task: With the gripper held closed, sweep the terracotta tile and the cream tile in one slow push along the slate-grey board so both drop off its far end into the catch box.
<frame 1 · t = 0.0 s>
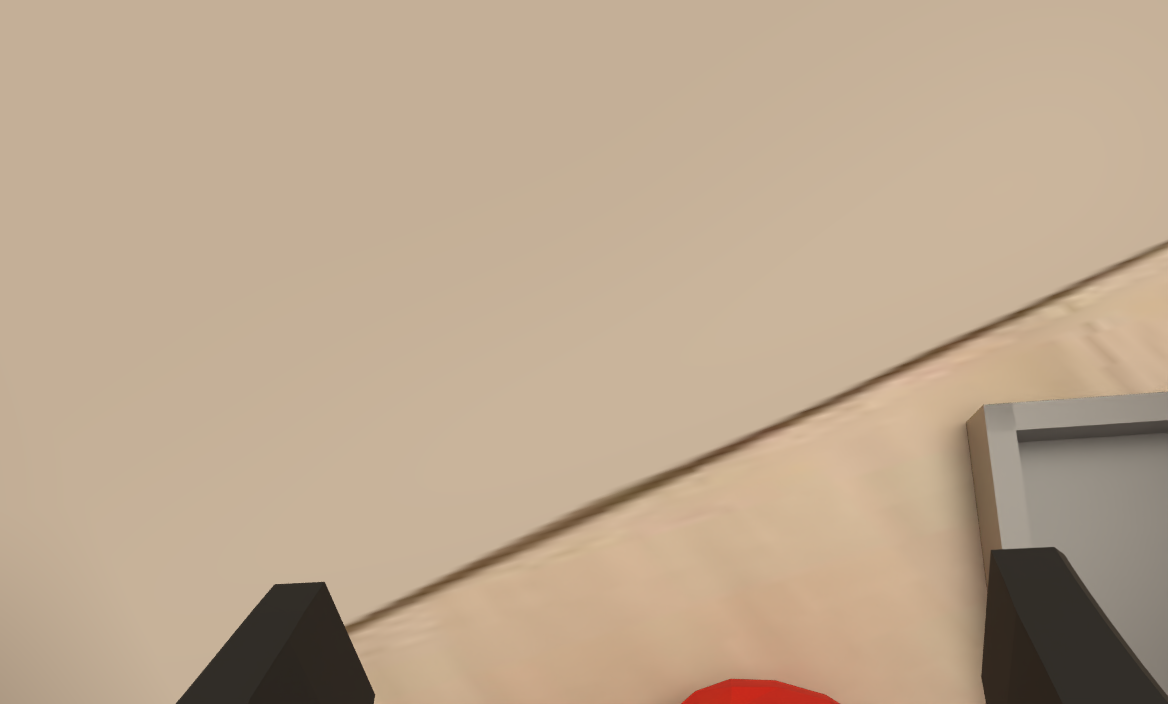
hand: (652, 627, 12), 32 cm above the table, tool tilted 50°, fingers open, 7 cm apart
catch box: (1128, 596, 40), on the table
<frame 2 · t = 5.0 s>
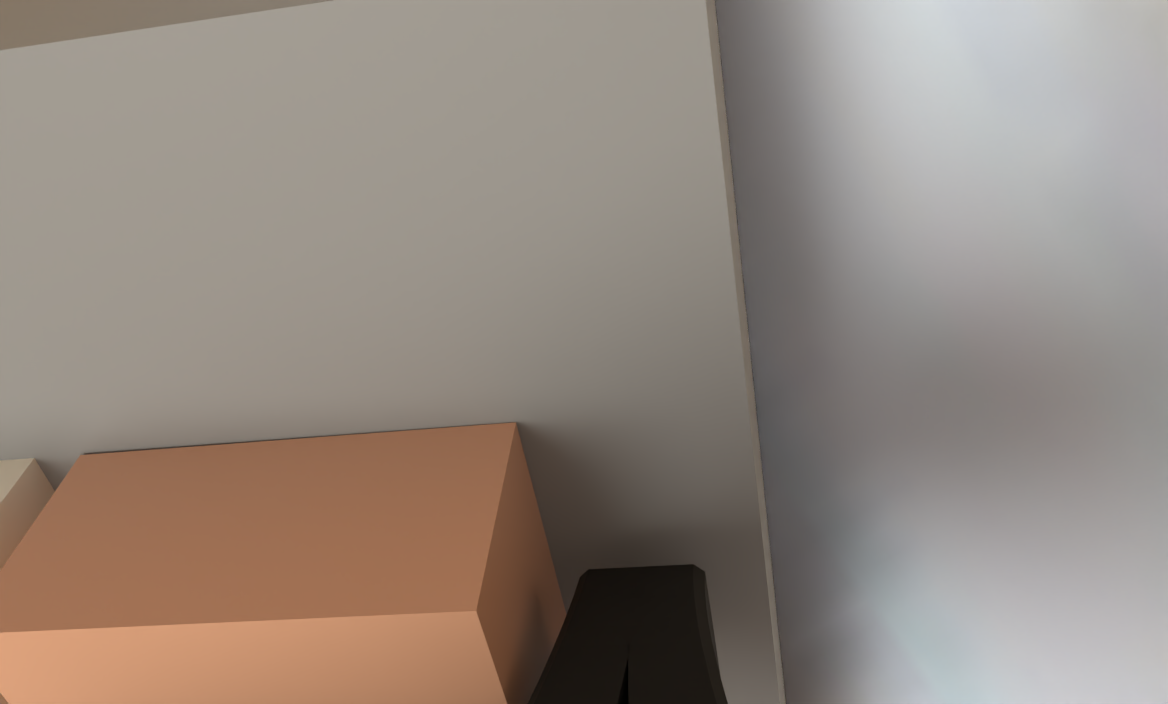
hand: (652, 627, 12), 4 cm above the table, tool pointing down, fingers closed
tile terracotta: (356, 595, 13), point 3 cm above the table, touching gripper
slate board: (275, 443, 16), on the table
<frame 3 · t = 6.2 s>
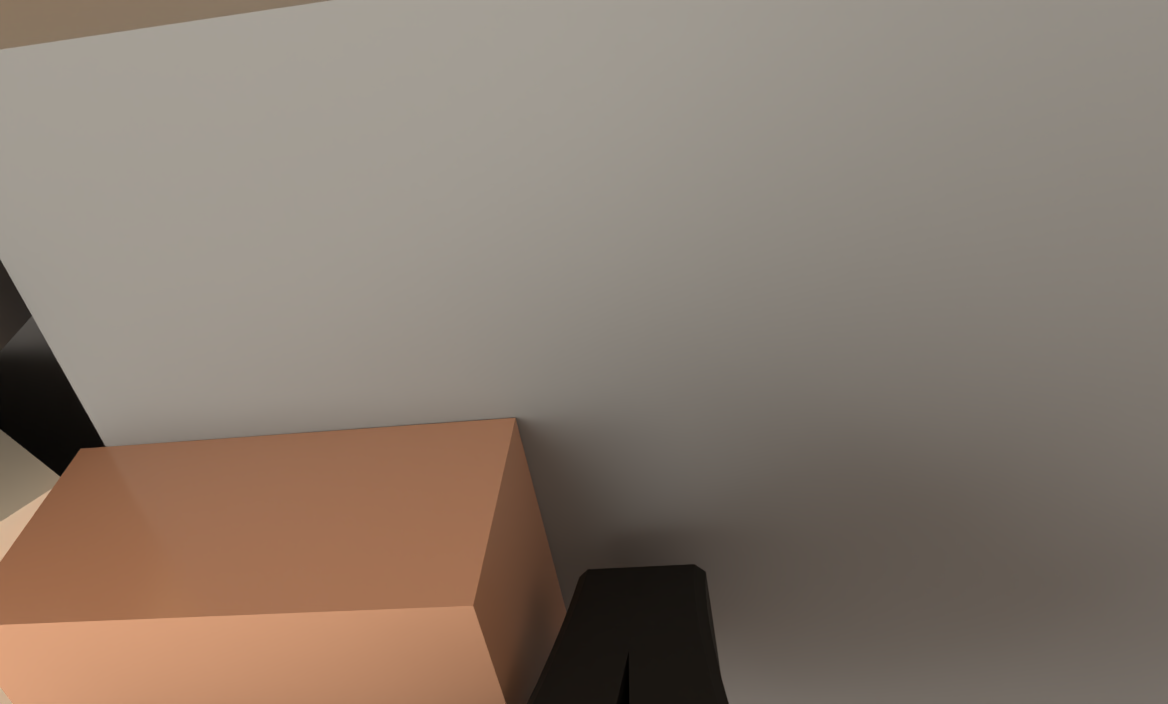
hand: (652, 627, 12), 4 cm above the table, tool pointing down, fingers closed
tile cream: (63, 550, 15), point 2 cm above the table, tilted 36°, touching catch box, tile terracotta
tile terracotta: (356, 591, 13), point 3 cm above the table, touching gripper, tile cream
slate board: (750, 408, 15), on the table
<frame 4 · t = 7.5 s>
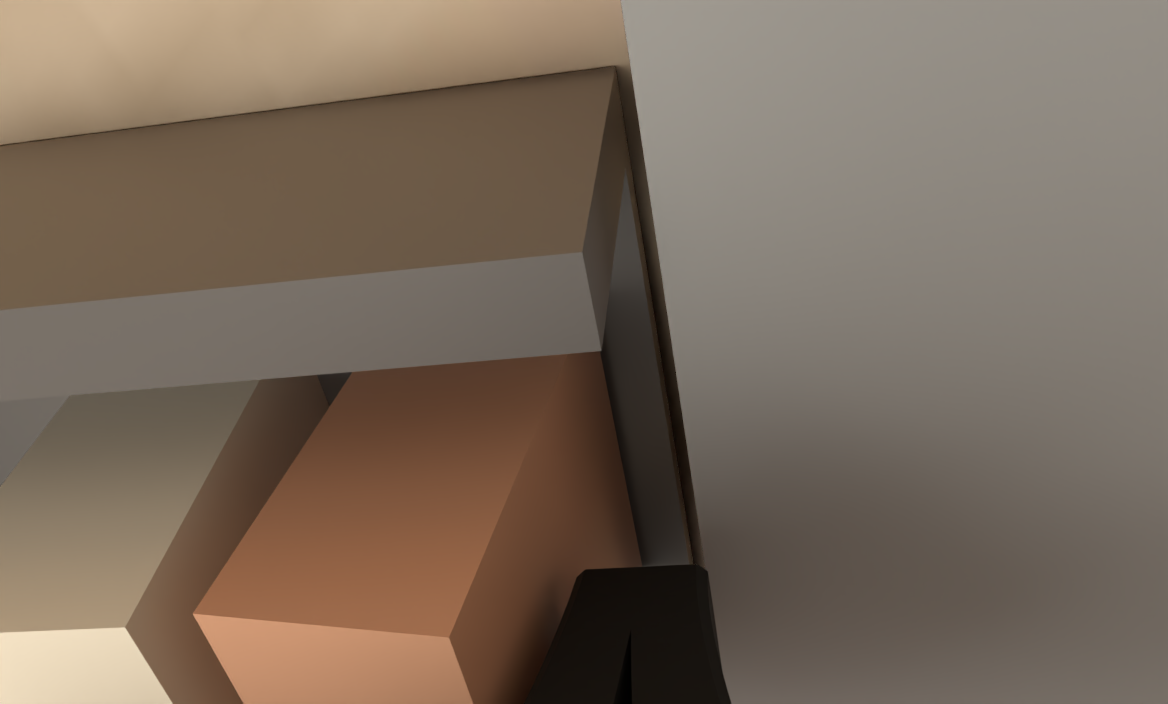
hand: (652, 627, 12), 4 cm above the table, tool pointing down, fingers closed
catch box: (201, 447, 16), on the table
tile cream: (297, 598, 13), point 3 cm above the table, tilted 90°, touching catch box
tile terracotta: (574, 604, 12), point 3 cm above the table, tilted 99°, touching catch box, gripper
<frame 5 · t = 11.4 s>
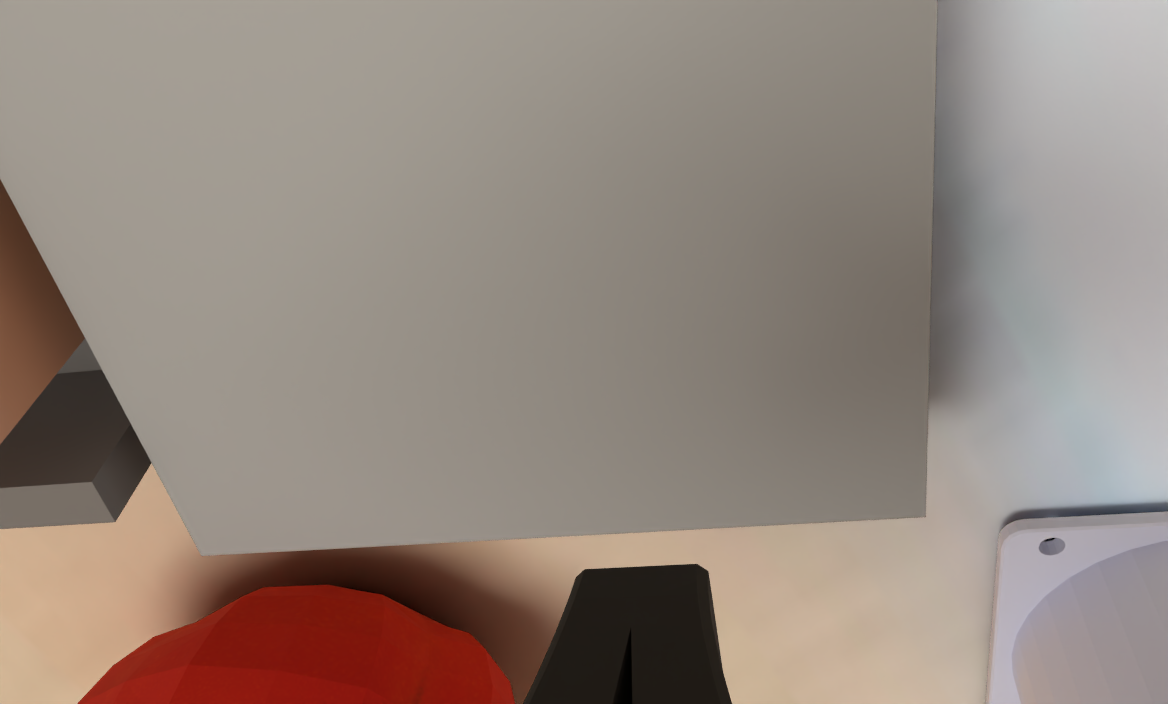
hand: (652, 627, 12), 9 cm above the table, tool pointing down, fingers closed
tomato: (354, 648, 28), on the table
slate board: (487, 129, 19), on the table
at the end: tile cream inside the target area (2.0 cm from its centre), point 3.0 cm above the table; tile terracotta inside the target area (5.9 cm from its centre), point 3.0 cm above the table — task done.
